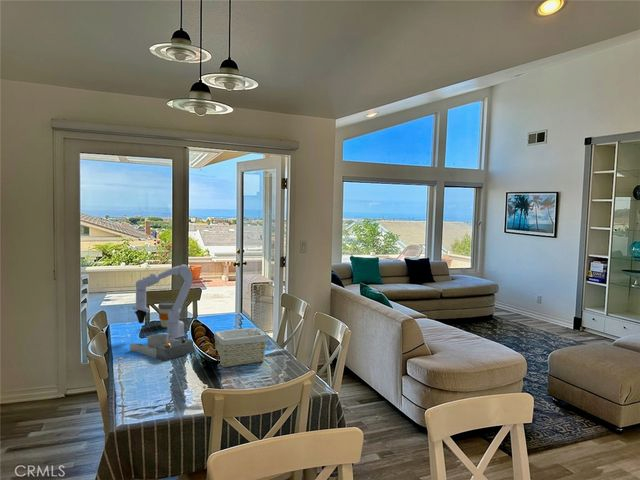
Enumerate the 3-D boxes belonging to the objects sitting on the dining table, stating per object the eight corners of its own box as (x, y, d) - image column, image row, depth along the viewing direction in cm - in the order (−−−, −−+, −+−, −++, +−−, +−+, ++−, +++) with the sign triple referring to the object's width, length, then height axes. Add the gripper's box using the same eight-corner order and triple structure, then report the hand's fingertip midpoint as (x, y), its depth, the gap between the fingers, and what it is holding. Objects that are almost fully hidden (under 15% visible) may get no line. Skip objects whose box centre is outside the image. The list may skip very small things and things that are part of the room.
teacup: (154, 355, 224) (154, 340, 224) (143, 350, 231) (143, 336, 230) (177, 348, 235) (177, 334, 235) (166, 344, 242) (166, 330, 241)
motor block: (164, 341, 248) (164, 329, 247) (197, 350, 232) (197, 337, 232) (129, 351, 229) (129, 337, 229) (161, 362, 214) (161, 348, 213)
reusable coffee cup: (157, 324, 285) (157, 302, 284) (177, 322, 291) (177, 300, 290) (158, 328, 274) (158, 305, 273) (179, 327, 279) (179, 304, 278)
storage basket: (256, 353, 231) (257, 326, 230) (267, 362, 217) (268, 334, 216) (212, 359, 220) (213, 331, 219) (221, 369, 206) (221, 339, 205)
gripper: (127, 299, 250) (127, 322, 251) (142, 302, 242) (142, 326, 243) (138, 297, 256) (138, 319, 257) (153, 300, 248) (153, 323, 248)
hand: (141, 322), depth 250 cm, fingers closed
